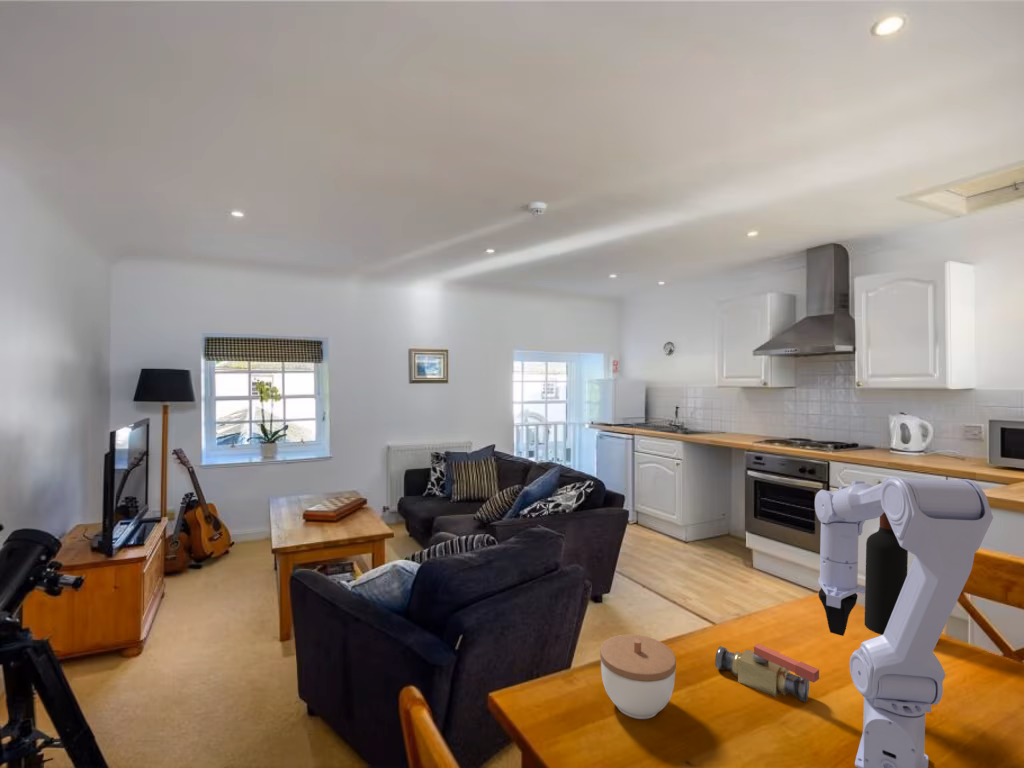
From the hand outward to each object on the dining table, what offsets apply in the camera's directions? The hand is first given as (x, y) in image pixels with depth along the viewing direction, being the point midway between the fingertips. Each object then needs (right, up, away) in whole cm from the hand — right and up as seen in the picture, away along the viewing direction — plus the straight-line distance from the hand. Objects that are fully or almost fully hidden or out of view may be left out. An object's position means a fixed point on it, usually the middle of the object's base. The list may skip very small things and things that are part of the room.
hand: (837, 632), depth 91 cm
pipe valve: (-13, -10, +2) cm, 17 cm away
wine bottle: (+25, -11, +23) cm, 36 cm away
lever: (-10, -6, -2) cm, 12 cm away
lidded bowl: (-37, -10, -5) cm, 39 cm away
